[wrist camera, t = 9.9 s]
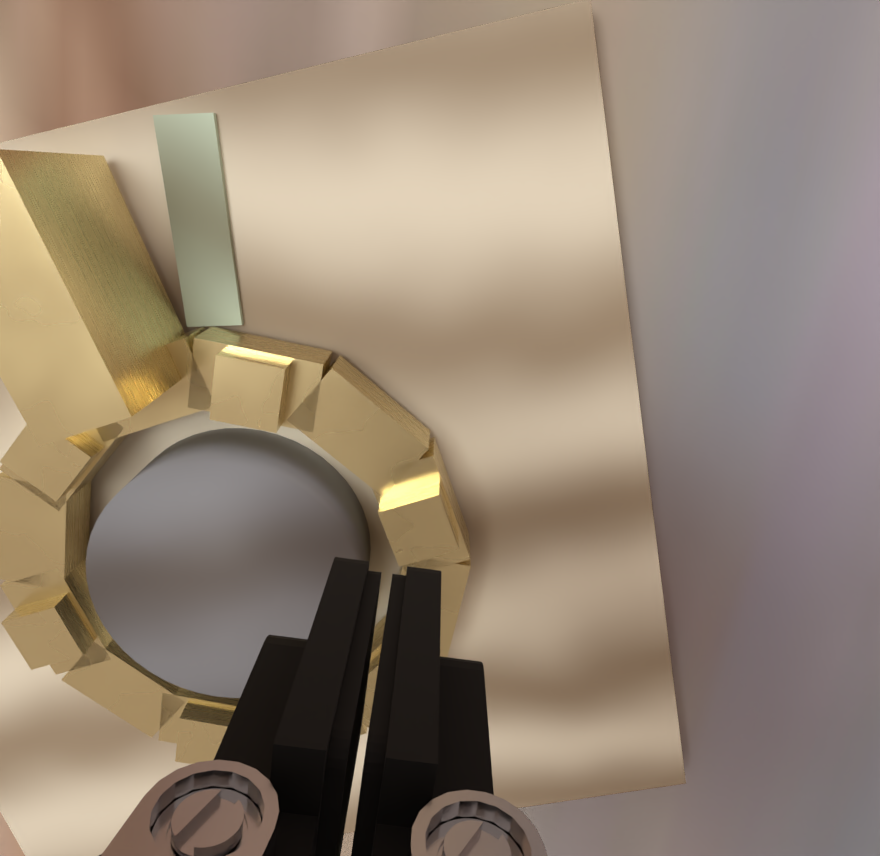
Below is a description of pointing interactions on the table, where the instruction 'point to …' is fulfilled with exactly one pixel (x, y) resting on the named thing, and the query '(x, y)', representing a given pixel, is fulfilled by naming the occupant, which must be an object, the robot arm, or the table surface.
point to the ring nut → (151, 403)
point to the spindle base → (403, 379)
